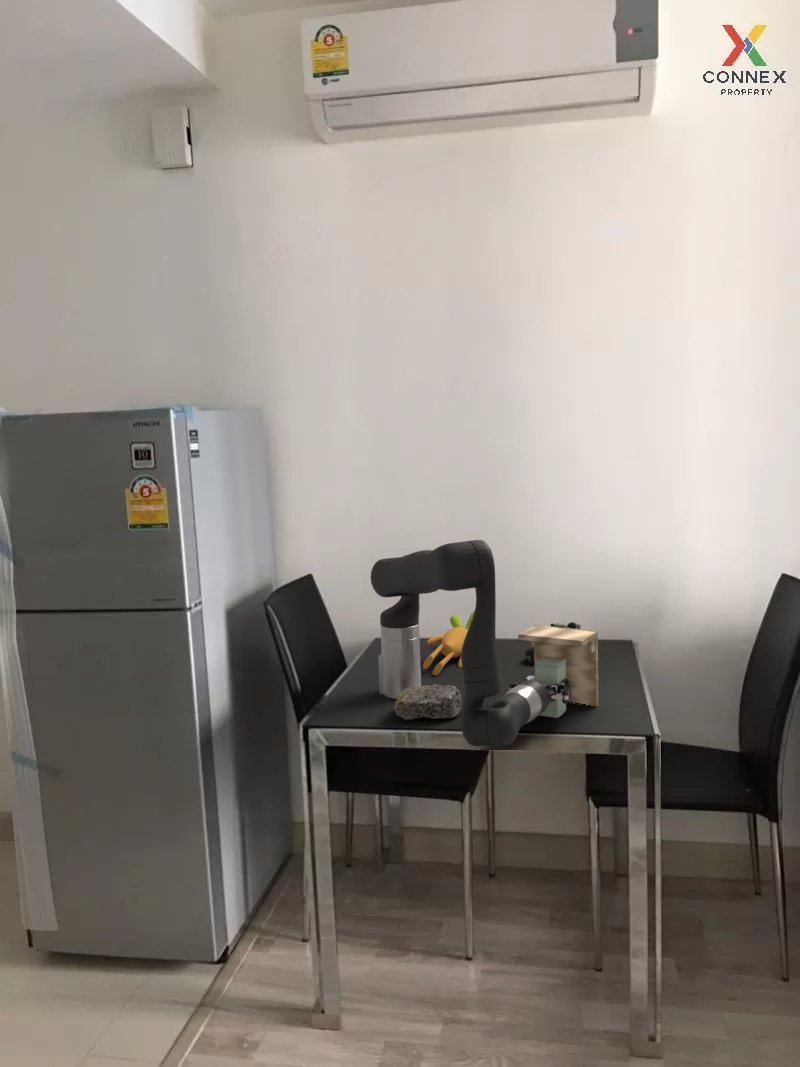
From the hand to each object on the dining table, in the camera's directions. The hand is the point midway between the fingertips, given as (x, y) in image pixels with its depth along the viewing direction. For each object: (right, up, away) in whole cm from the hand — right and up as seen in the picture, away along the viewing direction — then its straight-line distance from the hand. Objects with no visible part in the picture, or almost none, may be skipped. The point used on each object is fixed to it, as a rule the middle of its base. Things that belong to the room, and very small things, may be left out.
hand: (555, 681), depth 202 cm
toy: (-21, -2, +46) cm, 50 cm away
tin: (-1, -7, -1) cm, 7 cm away
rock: (-28, -8, +1) cm, 29 cm away
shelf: (+2, -6, +3) cm, 7 cm away
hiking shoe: (+8, -1, +44) cm, 45 cm away
